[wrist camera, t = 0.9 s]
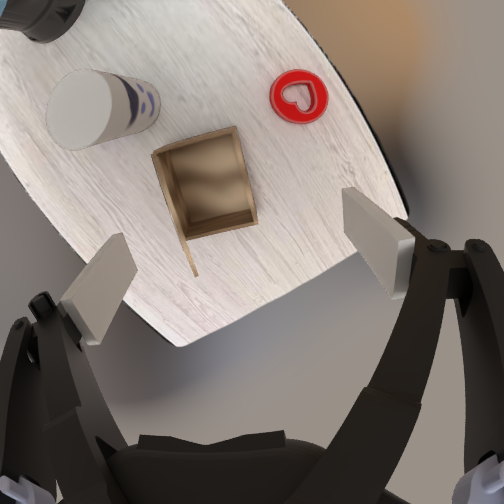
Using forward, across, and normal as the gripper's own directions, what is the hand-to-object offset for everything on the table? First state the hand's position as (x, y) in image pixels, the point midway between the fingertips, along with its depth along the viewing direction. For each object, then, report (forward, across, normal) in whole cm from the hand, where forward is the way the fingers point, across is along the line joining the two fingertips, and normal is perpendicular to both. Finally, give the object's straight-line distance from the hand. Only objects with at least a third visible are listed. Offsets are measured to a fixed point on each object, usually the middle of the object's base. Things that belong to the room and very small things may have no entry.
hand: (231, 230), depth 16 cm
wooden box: (+35, -6, -4) cm, 35 cm away
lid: (+21, -10, -4) cm, 23 cm away
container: (+35, -16, +13) cm, 41 cm away
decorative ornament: (+35, +12, +8) cm, 38 cm away
